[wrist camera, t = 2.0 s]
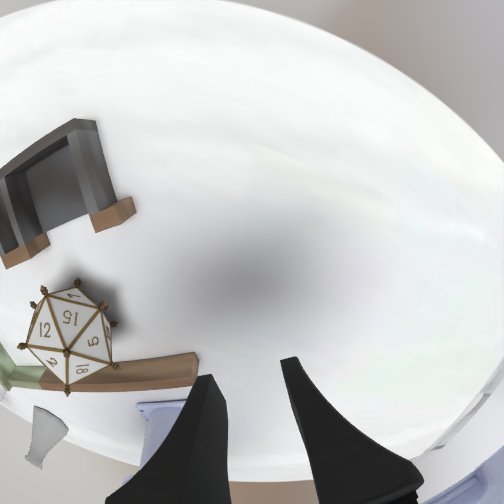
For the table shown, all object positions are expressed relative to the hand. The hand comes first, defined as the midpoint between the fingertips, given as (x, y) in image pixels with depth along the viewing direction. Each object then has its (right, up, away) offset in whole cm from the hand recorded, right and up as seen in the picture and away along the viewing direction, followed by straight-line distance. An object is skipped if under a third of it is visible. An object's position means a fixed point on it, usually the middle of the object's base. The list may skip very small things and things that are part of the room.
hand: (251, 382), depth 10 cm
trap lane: (-21, +2, +9) cm, 23 cm away
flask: (-33, -22, +18) cm, 44 cm away
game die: (-14, +1, +10) cm, 18 cm away
